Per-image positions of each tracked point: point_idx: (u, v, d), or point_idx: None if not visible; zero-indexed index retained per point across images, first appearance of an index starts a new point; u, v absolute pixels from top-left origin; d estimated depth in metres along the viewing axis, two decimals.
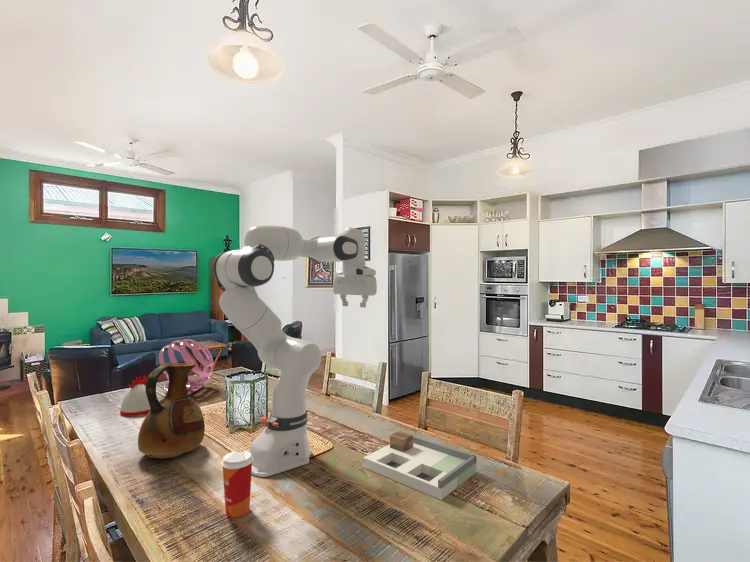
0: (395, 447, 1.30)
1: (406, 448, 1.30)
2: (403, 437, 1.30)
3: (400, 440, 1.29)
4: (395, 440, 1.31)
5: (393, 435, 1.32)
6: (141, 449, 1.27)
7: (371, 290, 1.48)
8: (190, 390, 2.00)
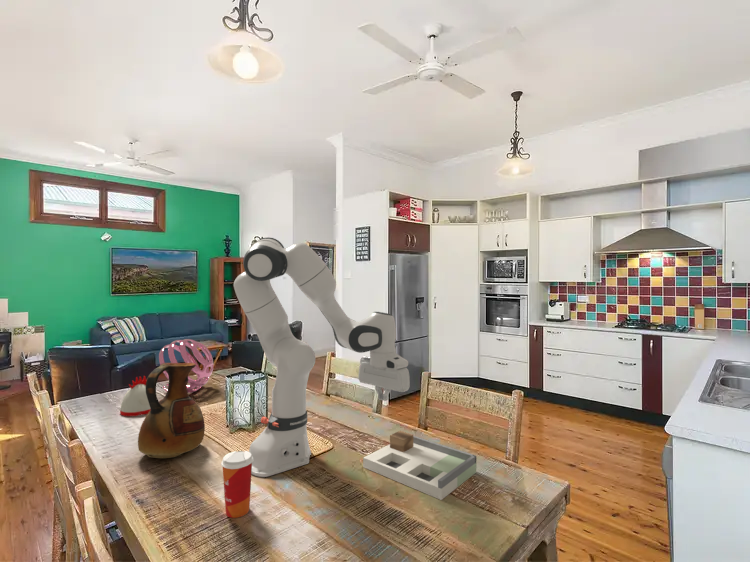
0: (395, 447, 1.30)
1: (406, 448, 1.30)
2: (403, 437, 1.30)
3: (400, 440, 1.29)
4: (395, 440, 1.31)
5: (393, 435, 1.32)
6: (141, 449, 1.27)
7: (404, 386, 1.30)
8: (190, 390, 2.00)
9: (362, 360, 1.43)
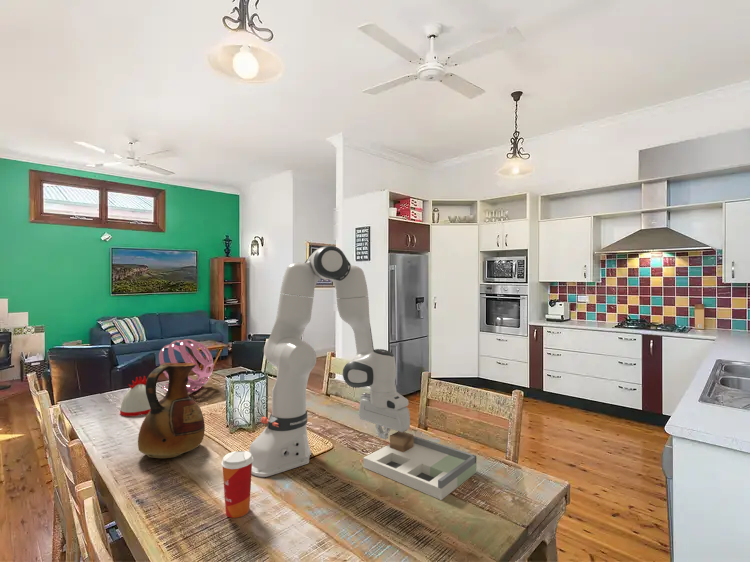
0: (395, 447, 1.30)
1: (406, 448, 1.30)
2: (403, 437, 1.30)
3: (400, 440, 1.29)
4: (395, 440, 1.31)
5: (393, 435, 1.32)
6: (141, 449, 1.27)
7: (404, 427, 1.30)
8: (190, 390, 2.00)
9: (362, 397, 1.43)
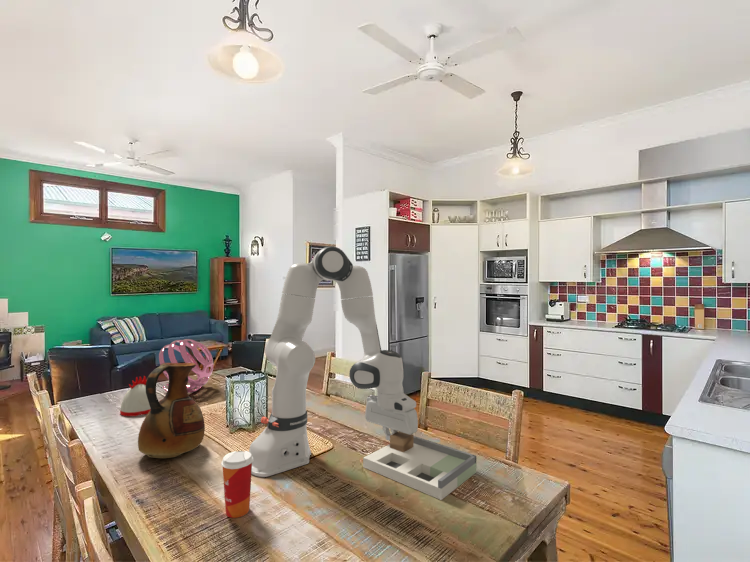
0: (395, 447, 1.30)
1: (406, 448, 1.30)
2: (403, 437, 1.30)
3: (400, 440, 1.29)
4: (395, 440, 1.31)
5: (393, 435, 1.32)
6: (141, 449, 1.27)
7: (412, 429, 1.28)
8: (190, 390, 2.00)
9: (369, 398, 1.41)
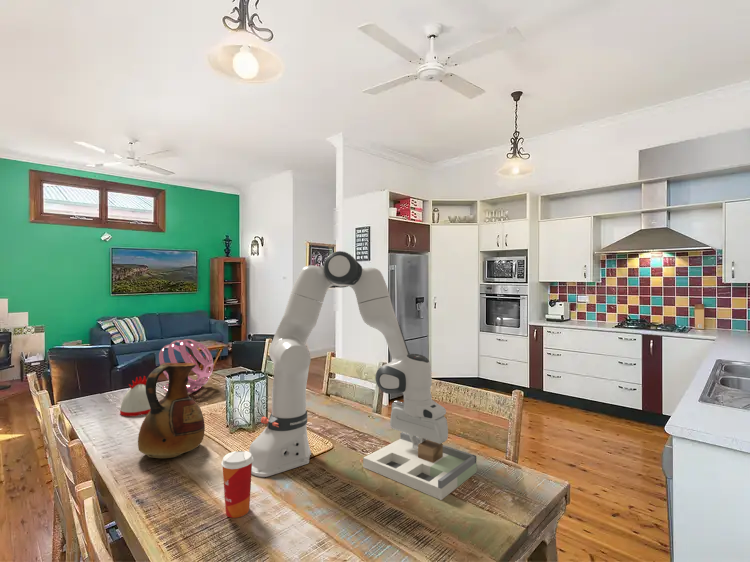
0: (424, 457, 1.23)
1: (436, 458, 1.23)
2: (433, 446, 1.23)
3: (430, 450, 1.22)
4: (424, 450, 1.23)
5: (421, 444, 1.25)
6: (141, 449, 1.27)
7: (443, 438, 1.21)
8: (190, 390, 2.00)
9: (394, 405, 1.34)
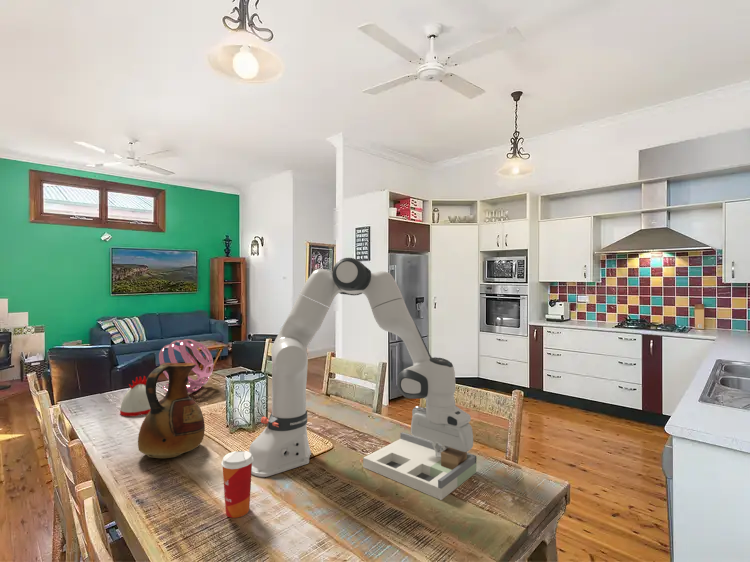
0: (447, 465, 1.18)
1: None
2: (457, 454, 1.18)
3: (454, 458, 1.17)
4: (447, 458, 1.18)
5: (445, 452, 1.19)
6: (141, 449, 1.27)
7: (468, 446, 1.15)
8: (190, 390, 2.00)
9: (415, 411, 1.28)
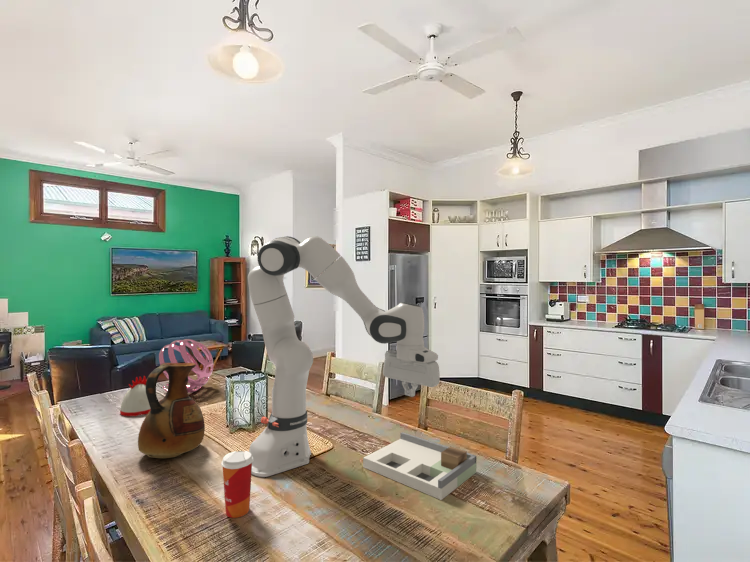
0: (447, 465, 1.18)
1: None
2: (457, 454, 1.18)
3: (454, 458, 1.17)
4: (447, 458, 1.18)
5: (445, 452, 1.19)
6: (141, 449, 1.27)
7: (434, 381, 1.22)
8: (190, 390, 2.00)
9: (387, 354, 1.36)
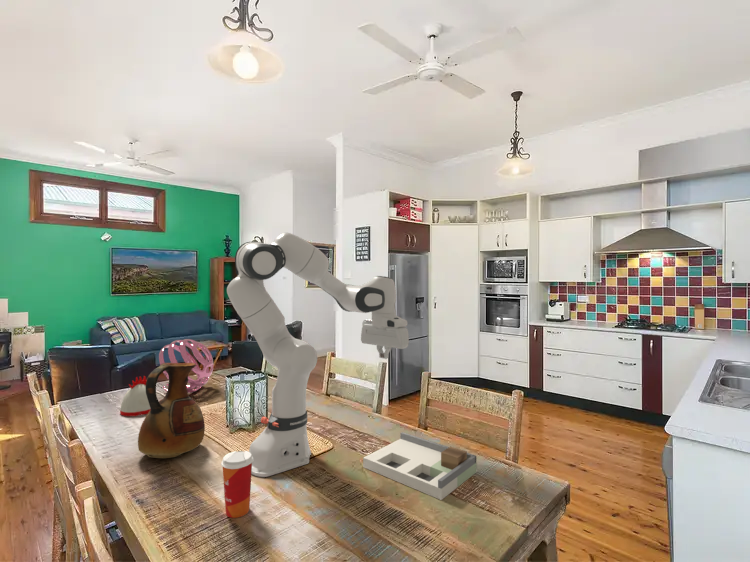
0: (447, 465, 1.18)
1: None
2: (457, 454, 1.18)
3: (454, 458, 1.17)
4: (447, 458, 1.18)
5: (445, 452, 1.19)
6: (141, 449, 1.27)
7: (403, 343, 1.40)
8: (190, 390, 2.00)
9: (364, 323, 1.53)
